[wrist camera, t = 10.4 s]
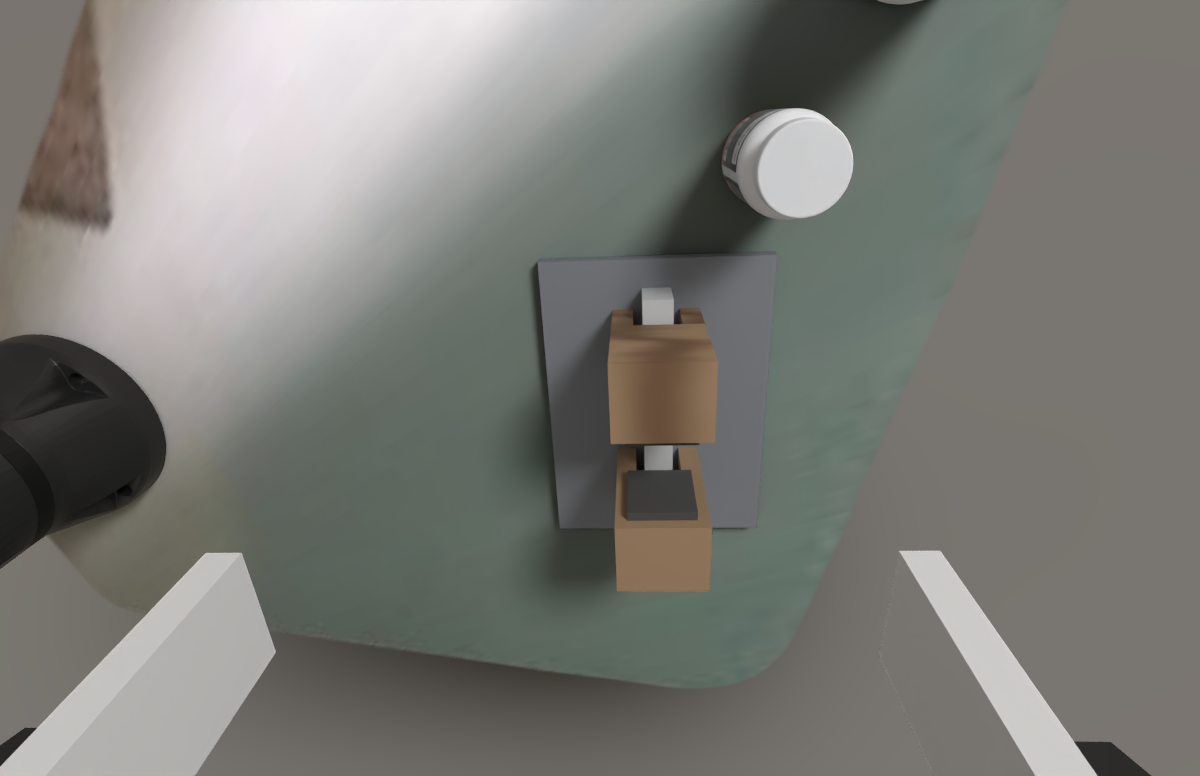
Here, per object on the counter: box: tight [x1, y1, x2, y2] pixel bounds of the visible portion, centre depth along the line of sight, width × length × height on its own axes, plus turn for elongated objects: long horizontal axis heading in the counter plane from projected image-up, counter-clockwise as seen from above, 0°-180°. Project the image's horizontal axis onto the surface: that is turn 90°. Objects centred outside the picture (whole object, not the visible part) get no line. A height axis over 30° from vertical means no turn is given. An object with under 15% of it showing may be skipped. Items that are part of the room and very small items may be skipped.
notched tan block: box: [608, 308, 718, 446], centre depth 39 cm, size 6×6×10 cm
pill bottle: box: [722, 108, 853, 220], centre depth 35 cm, size 6×6×10 cm
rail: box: [538, 252, 778, 591], centre depth 42 cm, size 16×22×11 cm
